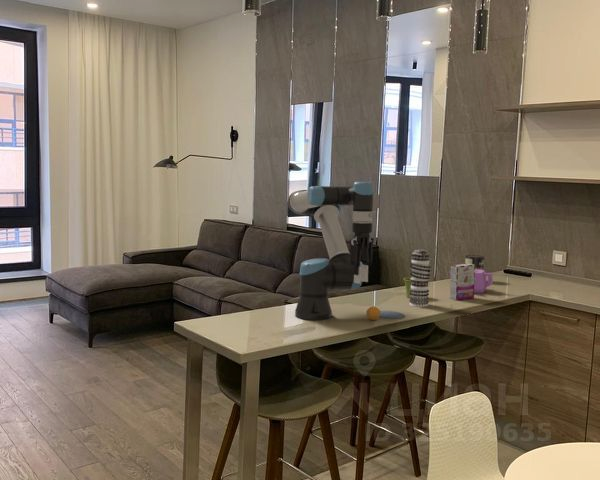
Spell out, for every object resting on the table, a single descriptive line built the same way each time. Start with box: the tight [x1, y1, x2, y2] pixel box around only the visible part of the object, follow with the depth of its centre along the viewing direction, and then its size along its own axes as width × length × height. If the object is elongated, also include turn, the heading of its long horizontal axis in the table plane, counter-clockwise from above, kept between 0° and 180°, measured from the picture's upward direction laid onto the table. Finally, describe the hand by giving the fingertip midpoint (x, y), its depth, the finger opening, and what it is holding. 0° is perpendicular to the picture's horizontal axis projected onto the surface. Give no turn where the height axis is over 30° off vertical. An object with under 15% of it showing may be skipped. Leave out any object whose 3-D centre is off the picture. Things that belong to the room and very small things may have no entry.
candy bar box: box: [449, 263, 475, 301], centre depth 291 cm, size 11×5×16 cm, turn 117°
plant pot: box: [403, 277, 411, 299], centre depth 294 cm, size 9×9×9 cm
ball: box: [366, 306, 380, 321], centre depth 246 cm, size 6×6×6 cm
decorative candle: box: [408, 248, 432, 308], centre depth 275 cm, size 9×9×25 cm
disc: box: [379, 310, 406, 320], centre depth 255 cm, size 13×13×1 cm
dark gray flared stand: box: [464, 254, 485, 271], centre depth 341 cm, size 10×10×14 cm
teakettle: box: [448, 269, 494, 295], centre depth 312 cm, size 17×17×12 cm
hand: (360, 282), depth 237 cm, fingers open, 4 cm apart
